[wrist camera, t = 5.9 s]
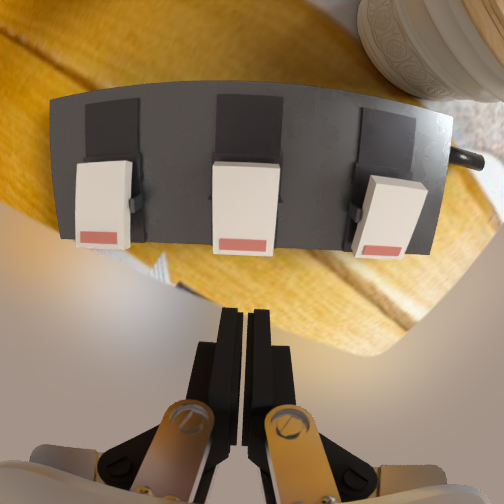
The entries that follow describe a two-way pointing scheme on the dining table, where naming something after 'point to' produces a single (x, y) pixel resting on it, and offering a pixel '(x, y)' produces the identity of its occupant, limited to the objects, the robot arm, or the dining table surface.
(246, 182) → the rocker
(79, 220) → the rocker
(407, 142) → the switch box
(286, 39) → the dining table surface
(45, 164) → the dining table surface
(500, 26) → the jar
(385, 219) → the rocker
